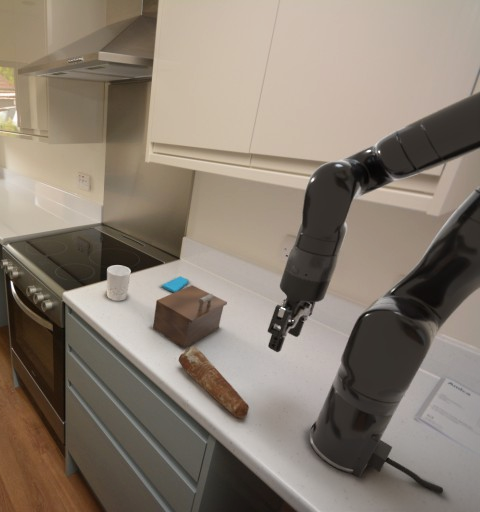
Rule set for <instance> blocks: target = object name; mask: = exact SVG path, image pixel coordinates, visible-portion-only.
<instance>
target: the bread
mask: <svg viewBox="0 0 480 512" xmlns="http://www.w3.org/2000/svg"><path fill="white" fill-rule="evenodd" d="M178 362H179V364H180V366H181V367H182V369H184V371H185V372H186V373H187V374H188V375H189V376H190V377H191V378H192V379H193V380H194V381H195V382H197V384H199V385H200V386H201V387H202V388H203V389H204V390H205V391H206V392H207V393H209V395H211V397H213V398H214V399H215V400H216V401H217V402H218V403H219V404H220V405H222V406H223V407H224V408H225V410H227V411H228V412H230V413H231V414H232V415H233V416H234V417H235V418H240V419H242V418H244V417H246V416H247V415H248V412H249V407H250V406H249V404H248V403H247V402H246V401H245V400H244V399H243V397H242V396H241V395H240V394H239V393H238V392H237V390H236V389H235V388H234V387H233V386H232V385H231V383H229V382H228V380H227V379H226V378H225V377H224V376H223V375H222V373H221V372H220V371H219V370H218V369H217V368H216V367H215V366H214V364H213V363H212V362H211V361H210V360H209V359H208V358H207V357H206V355H205V354H203V352H202V351H200V350H199V349H198V348H197V346H195V345H192V346H188V347H187V348H186V350H184V352H183V353H181V354H179V357H178Z"/></svg>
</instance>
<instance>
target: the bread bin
mask: <svg viewBox="0 0 480 512" xmlns="http://www.w3.org/2000/svg"><path fill="white" fill-rule="evenodd" d="M223 312H224V306H223V307H221V308H219V309H217V310H215V311H213V312H212V313H210V314H208V315H206V316H204V317H202V318H201V319H199V320H197V321H195V322H193V323H190V322H189V321H187V320H185V319H184V318H182V317H180V316H178V315H177V314H175V313H173V312H172V311H170V310H168V309H166V308H165V307H163V306H161V305H159V304H158V303H156V302H155V309H154V317H153V322H152V323H153V324H152V329H153V330H155V331H156V332H158V333H159V334H161V335H162V336H163V337H165V338H167V339H168V340H170V341H171V342H173V343H174V344H176V345H177V346H179V347H180V348H182V349H183V350H184V349H188V348H189V347H191V345H192V346H193V344H195V343H197V342H198V341H201V339H204V338H205V337H207V336H208V335H210V334H211V333H214V332H215V331H217V330H218V329H219V327H220V323H221V319H222V315H223Z"/></svg>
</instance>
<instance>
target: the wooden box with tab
mask: <svg viewBox="0 0 480 512" xmlns="http://www.w3.org/2000/svg"><path fill="white" fill-rule="evenodd" d="M156 303H158V304H159V305H161V306H163V307H165V308H166V309H168V310H170V311H172V312H173V313H175V314H177V315H178V316H180V317H182V318H184V319H185V320H187V321H189V322H190V323H193V322H195V321H197V320H199V319H201V318H202V317H204V316H206V315H208V314H210V313H212V312H213V311H215V310H217V309H219V308H221V307H223V308H224V306H227V305H228V301H226V300H224V299H222V298H220V297H217V296H216V295H214V294H213V293H209V292H208V291H205V290H203V289H201V288H200V287H197V286H195V285H194V284H191V285H189V286H186V287H183V288H181V289H180V290H179V291H177V292H172V293H169V294H168V295H165V296H163V297H161V298H159V299H156V302H155V304H156Z"/></svg>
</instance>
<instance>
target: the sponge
mask: <svg viewBox="0 0 480 512" xmlns="http://www.w3.org/2000/svg"><path fill="white" fill-rule="evenodd" d="M189 281H190V280H189V279H188V278H186V277H183V276H178V277H176V278H174V279H172V280H170V281H168V282H167V281H166V282H165V283H163V284H162V285H161V288H163V289H165V290H166V291H170V292H172V293H175V292H177V291H179V290H182V289H183V288H184V287H185V286H186V285H187V284H188V283H189Z"/></svg>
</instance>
